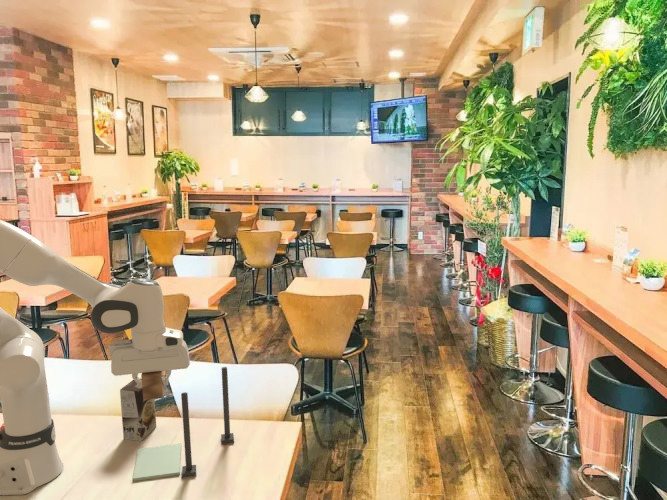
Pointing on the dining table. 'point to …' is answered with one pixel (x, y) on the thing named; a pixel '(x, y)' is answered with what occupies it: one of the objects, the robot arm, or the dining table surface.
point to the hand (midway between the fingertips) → (153, 385)
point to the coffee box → (136, 412)
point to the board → (157, 462)
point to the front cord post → (187, 439)
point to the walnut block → (152, 385)
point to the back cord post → (226, 410)
